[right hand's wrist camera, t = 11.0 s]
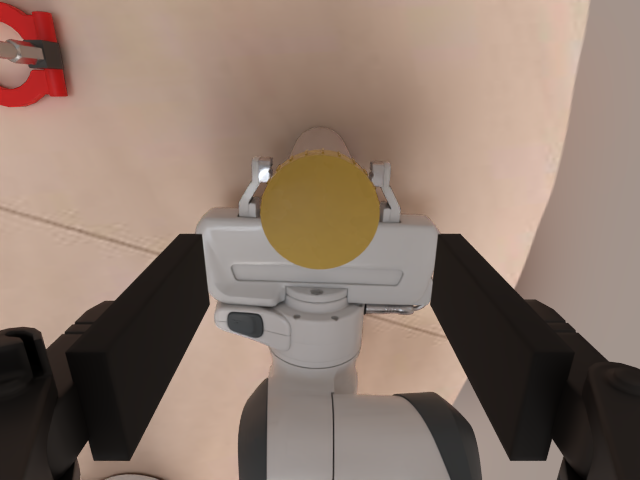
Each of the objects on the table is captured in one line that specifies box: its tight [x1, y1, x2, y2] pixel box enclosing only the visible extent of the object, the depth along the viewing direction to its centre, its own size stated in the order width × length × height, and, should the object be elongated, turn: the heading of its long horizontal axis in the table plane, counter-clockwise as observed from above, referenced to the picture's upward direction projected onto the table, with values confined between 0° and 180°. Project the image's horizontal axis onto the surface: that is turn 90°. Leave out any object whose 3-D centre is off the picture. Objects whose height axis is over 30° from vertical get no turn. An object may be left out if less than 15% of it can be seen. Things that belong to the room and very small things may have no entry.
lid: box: [260, 148, 380, 269], centre depth 21 cm, size 6×6×2 cm
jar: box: [288, 127, 352, 159], centre depth 30 cm, size 5×5×19 cm
